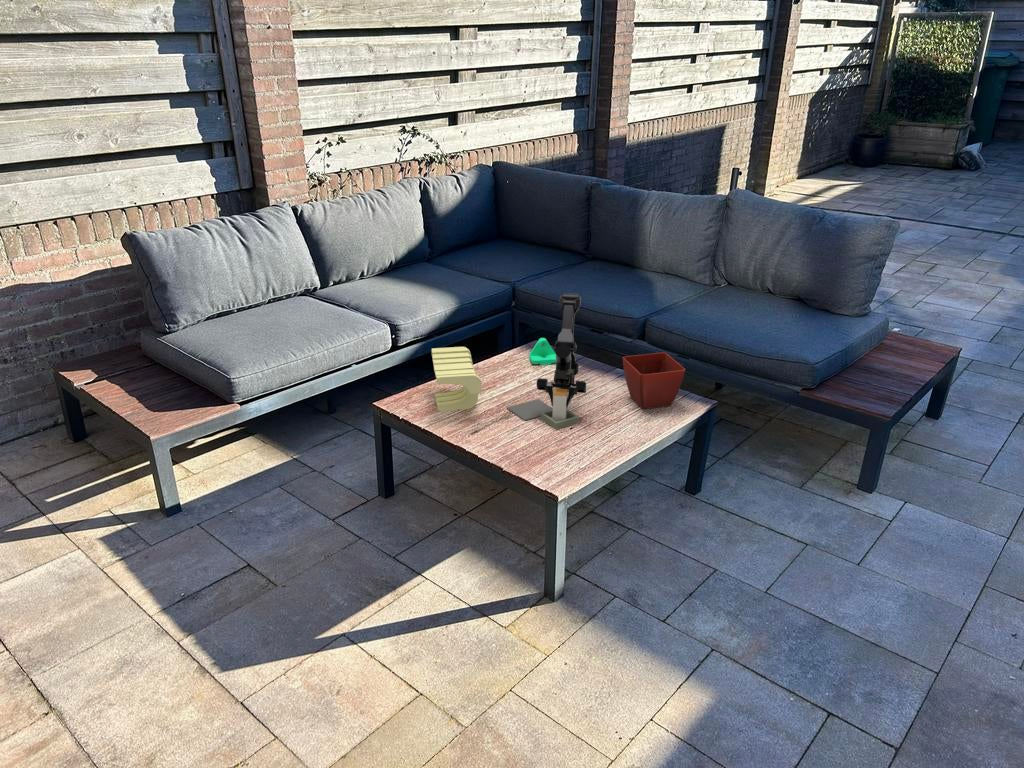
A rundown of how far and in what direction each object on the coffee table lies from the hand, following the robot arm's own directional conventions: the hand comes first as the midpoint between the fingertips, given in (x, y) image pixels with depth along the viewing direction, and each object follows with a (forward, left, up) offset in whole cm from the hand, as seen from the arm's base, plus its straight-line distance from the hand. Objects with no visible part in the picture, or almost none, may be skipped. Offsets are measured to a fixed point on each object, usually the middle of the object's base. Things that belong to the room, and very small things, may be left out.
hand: (559, 406), depth 305 cm
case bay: (-1, -1, -7) cm, 7 cm away
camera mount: (-30, -53, -7) cm, 61 cm away
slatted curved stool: (+25, -36, -7) cm, 44 cm away
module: (-1, -1, -7) cm, 7 cm away
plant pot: (-42, +4, -7) cm, 43 cm away
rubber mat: (+3, -14, -7) cm, 16 cm away
